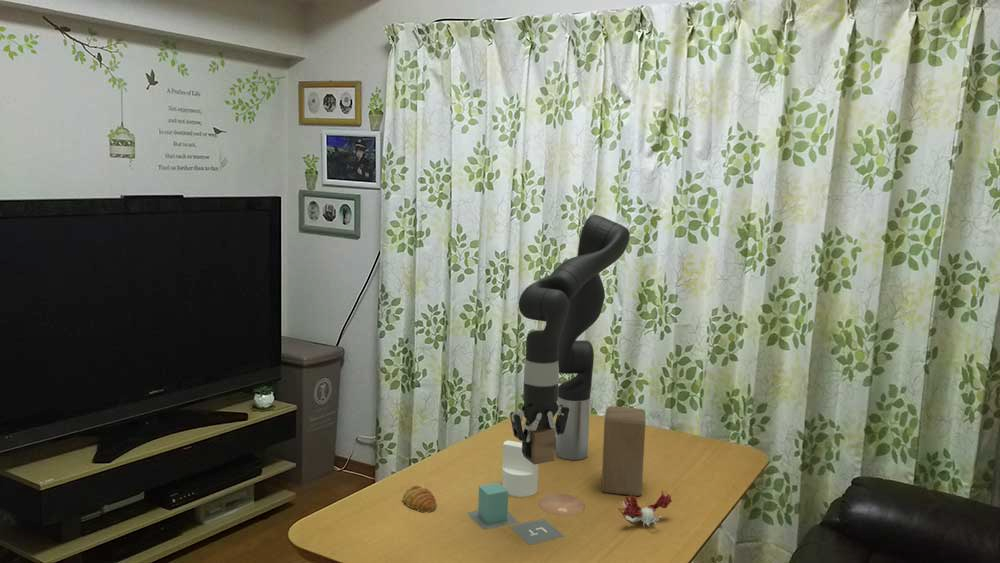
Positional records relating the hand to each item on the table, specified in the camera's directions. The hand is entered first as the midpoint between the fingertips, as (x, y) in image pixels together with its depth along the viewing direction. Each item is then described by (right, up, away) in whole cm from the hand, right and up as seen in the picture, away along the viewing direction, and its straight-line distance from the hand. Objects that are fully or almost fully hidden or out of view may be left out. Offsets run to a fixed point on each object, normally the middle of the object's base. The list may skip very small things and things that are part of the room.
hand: (538, 454), depth 157 cm
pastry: (-27, -16, +15) cm, 35 cm away
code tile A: (0, -18, +3) cm, 18 cm away
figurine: (+24, -18, +9) cm, 32 cm away
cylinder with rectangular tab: (-3, -15, +24) cm, 29 cm away
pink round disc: (+6, -16, +16) cm, 24 cm away
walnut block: (0, -1, 0) cm, 1 cm away
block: (+23, -15, +28) cm, 39 cm away
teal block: (-10, -17, +9) cm, 21 cm away
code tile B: (-10, -17, +9) cm, 22 cm away
